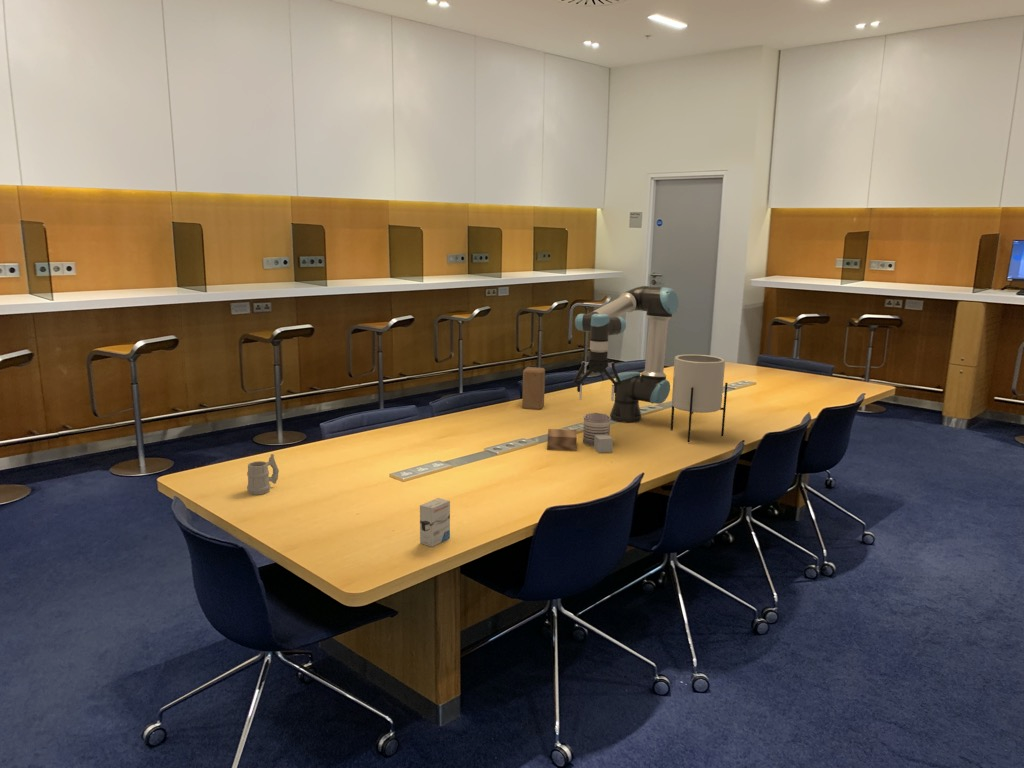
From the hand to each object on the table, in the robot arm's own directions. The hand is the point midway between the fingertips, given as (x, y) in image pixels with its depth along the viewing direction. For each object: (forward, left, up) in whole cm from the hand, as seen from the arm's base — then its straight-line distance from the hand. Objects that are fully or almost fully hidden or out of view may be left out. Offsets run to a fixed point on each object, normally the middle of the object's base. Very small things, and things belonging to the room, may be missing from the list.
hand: (596, 399), depth 326 cm
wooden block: (+26, -64, -19) cm, 71 cm away
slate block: (-3, +11, -19) cm, 22 cm away
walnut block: (+14, +6, -19) cm, 25 cm away
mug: (+119, +70, -19) cm, 140 cm away
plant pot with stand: (-46, -15, -19) cm, 52 cm away
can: (-1, 0, -19) cm, 19 cm away
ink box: (+55, +109, -19) cm, 124 cm away
